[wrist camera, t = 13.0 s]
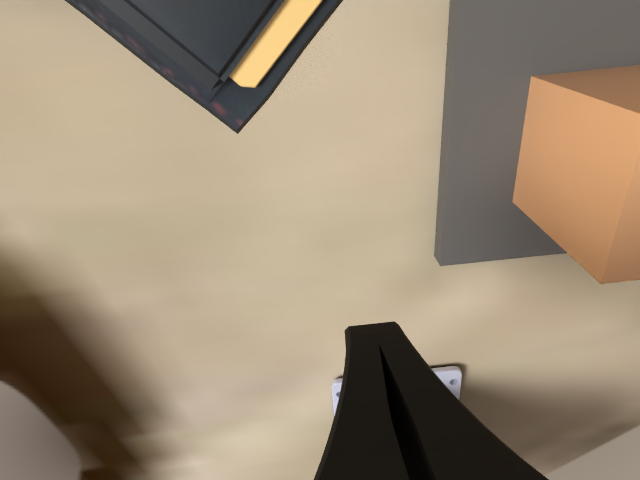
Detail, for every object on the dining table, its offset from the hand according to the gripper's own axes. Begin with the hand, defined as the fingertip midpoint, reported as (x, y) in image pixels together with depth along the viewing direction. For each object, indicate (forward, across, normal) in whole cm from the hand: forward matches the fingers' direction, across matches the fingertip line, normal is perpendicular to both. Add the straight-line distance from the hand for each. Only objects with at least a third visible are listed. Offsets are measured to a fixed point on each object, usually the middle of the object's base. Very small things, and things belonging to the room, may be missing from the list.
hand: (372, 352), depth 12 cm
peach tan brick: (+9, -11, -2) cm, 15 cm away
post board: (+10, -11, -2) cm, 15 cm away
